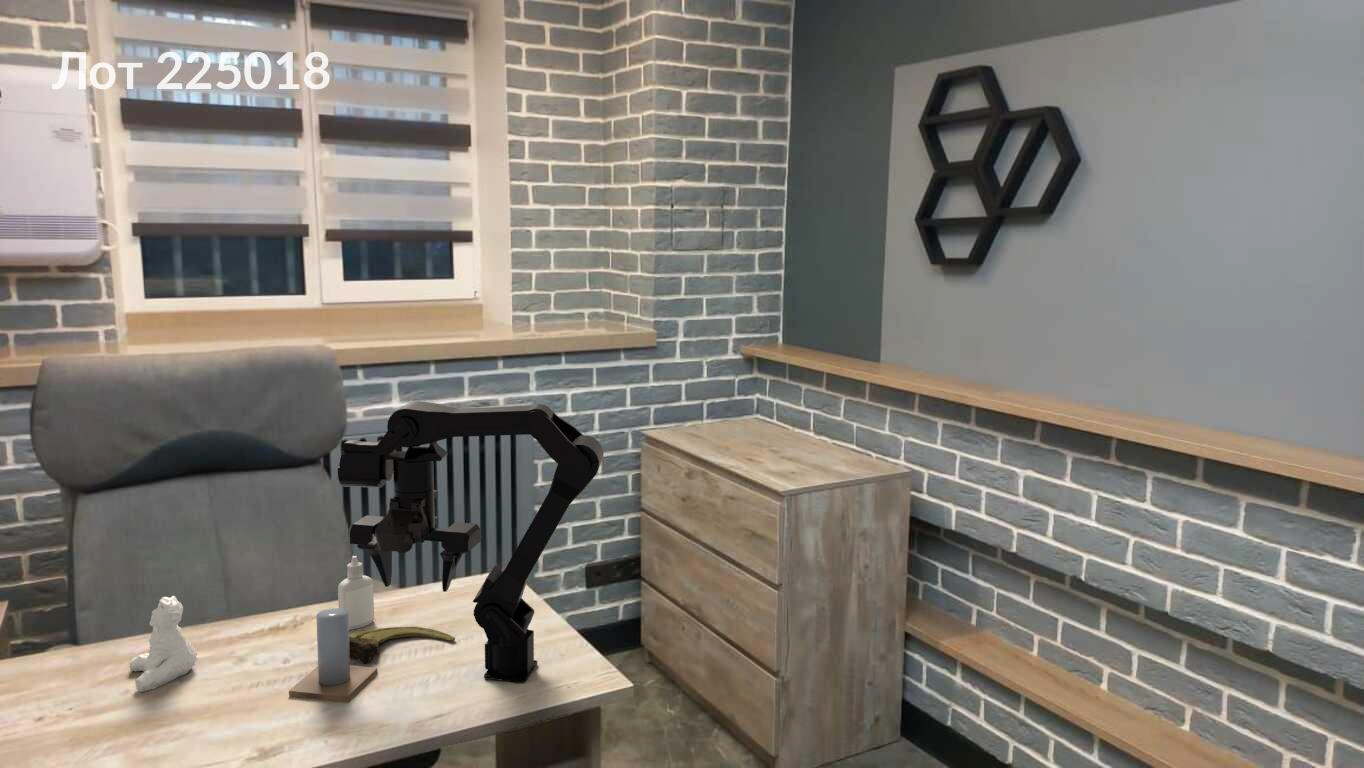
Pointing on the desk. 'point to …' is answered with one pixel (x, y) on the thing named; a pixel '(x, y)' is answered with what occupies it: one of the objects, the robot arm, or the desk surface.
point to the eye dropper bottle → (357, 596)
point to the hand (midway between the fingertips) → (416, 588)
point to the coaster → (341, 692)
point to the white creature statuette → (164, 648)
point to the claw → (367, 641)
